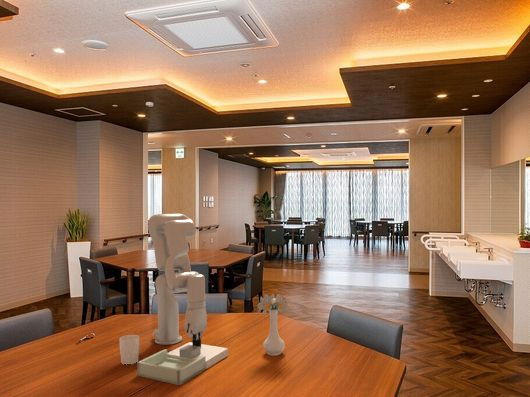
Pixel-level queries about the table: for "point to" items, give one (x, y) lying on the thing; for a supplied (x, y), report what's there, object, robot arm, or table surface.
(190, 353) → the grey square block
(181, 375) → the box
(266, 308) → the flower vase
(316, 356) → the table surface
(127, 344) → the white cup
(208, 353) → the plate
